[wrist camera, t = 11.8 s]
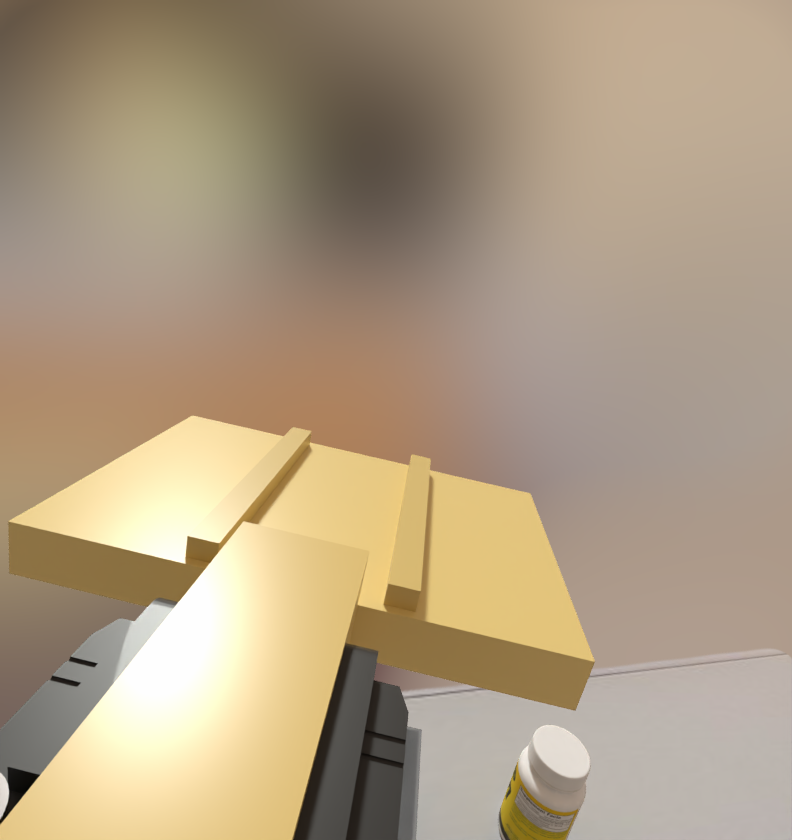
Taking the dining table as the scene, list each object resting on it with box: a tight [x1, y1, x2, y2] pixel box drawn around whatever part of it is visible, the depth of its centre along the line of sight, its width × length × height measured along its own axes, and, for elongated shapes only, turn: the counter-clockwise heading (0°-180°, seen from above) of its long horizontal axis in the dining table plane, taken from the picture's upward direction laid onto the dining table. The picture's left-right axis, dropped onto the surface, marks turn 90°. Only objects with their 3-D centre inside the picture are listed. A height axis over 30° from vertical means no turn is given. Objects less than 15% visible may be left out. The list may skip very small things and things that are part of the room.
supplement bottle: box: [498, 725, 591, 840], centre depth 36 cm, size 5×5×8 cm
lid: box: [0, 416, 595, 840], centre depth 13 cm, size 14×18×3 cm
